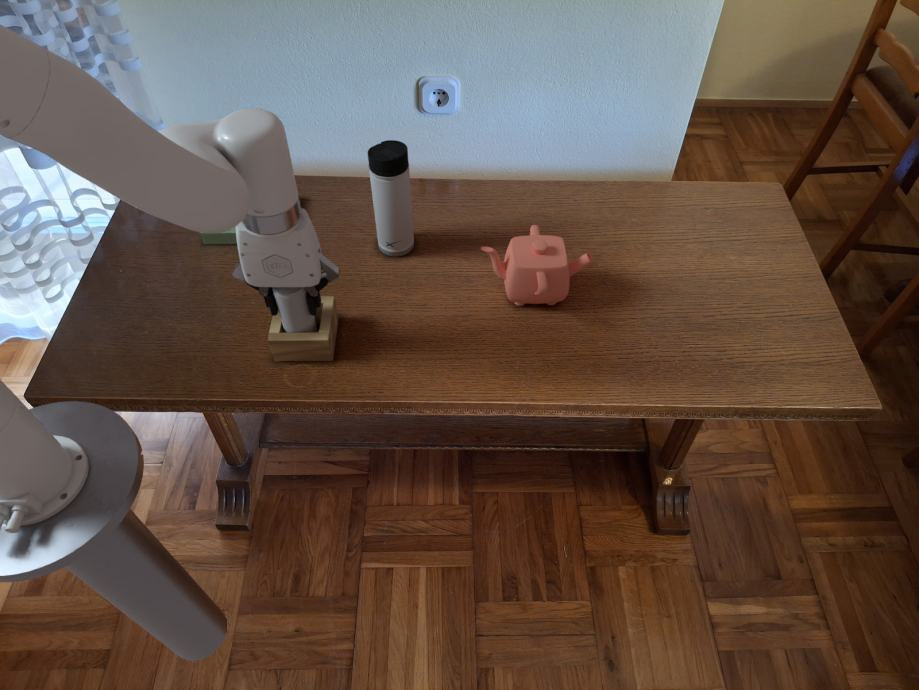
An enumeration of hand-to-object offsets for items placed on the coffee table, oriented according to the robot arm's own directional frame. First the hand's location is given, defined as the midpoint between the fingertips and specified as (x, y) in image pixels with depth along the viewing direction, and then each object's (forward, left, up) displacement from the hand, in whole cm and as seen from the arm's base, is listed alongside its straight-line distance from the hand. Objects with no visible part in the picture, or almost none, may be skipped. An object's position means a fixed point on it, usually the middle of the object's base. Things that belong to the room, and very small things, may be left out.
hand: (295, 307), depth 95 cm
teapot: (+10, -36, -8) cm, 39 cm away
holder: (0, 0, -7) cm, 8 cm away
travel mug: (+21, -13, -8) cm, 26 cm away
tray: (+28, +14, -7) cm, 32 cm away
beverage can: (0, 0, -7) cm, 7 cm away
